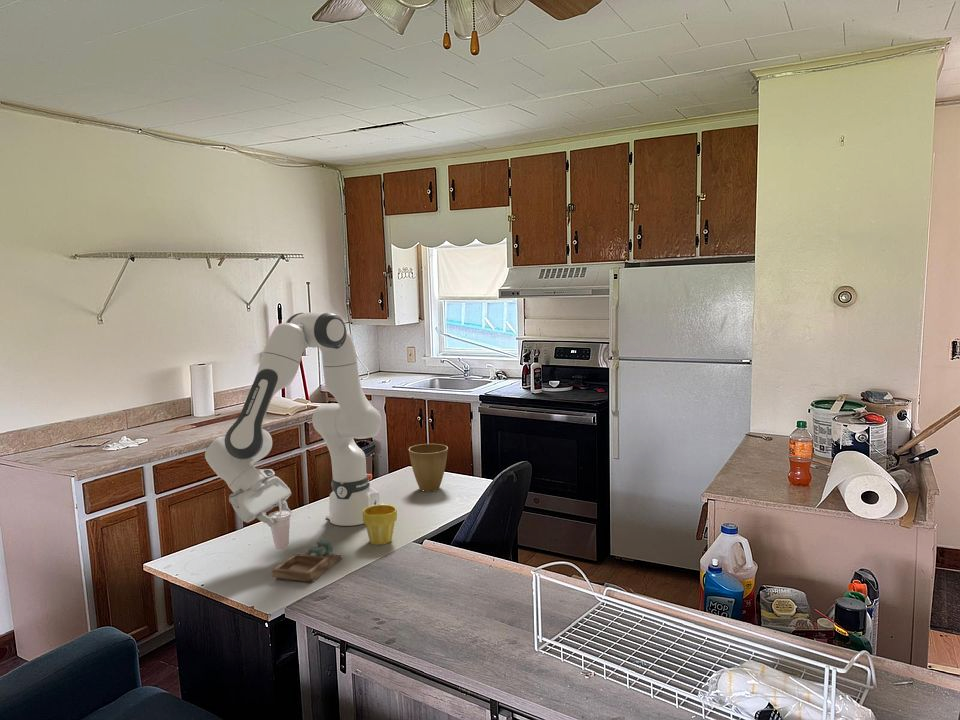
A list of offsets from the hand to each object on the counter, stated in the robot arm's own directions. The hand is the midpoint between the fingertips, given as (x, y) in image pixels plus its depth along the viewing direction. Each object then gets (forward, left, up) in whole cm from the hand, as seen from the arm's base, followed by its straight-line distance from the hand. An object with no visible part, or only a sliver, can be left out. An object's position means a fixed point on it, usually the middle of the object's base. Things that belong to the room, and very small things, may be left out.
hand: (281, 519), depth 192 cm
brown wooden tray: (+3, +10, -12) cm, 16 cm away
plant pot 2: (-73, +17, -12) cm, 76 cm away
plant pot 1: (-20, +21, -12) cm, 31 cm away
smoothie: (0, -1, -8) cm, 8 cm away
